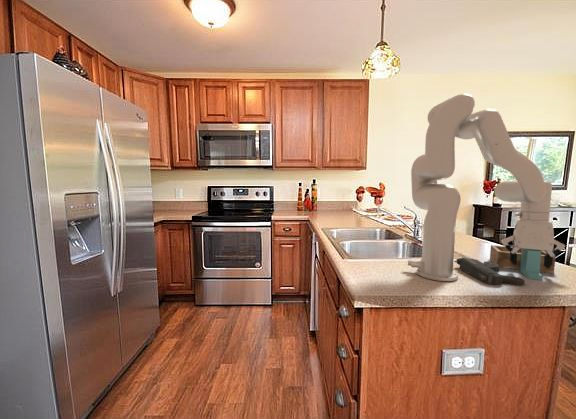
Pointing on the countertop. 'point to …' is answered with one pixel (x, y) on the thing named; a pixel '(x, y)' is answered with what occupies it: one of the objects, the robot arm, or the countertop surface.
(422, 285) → the countertop surface
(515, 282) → the toy gun
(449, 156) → the robot arm
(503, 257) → the open wooden box
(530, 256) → the teal upright block
